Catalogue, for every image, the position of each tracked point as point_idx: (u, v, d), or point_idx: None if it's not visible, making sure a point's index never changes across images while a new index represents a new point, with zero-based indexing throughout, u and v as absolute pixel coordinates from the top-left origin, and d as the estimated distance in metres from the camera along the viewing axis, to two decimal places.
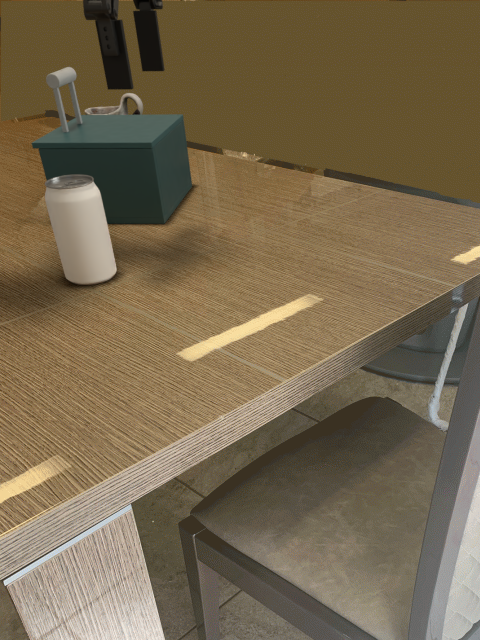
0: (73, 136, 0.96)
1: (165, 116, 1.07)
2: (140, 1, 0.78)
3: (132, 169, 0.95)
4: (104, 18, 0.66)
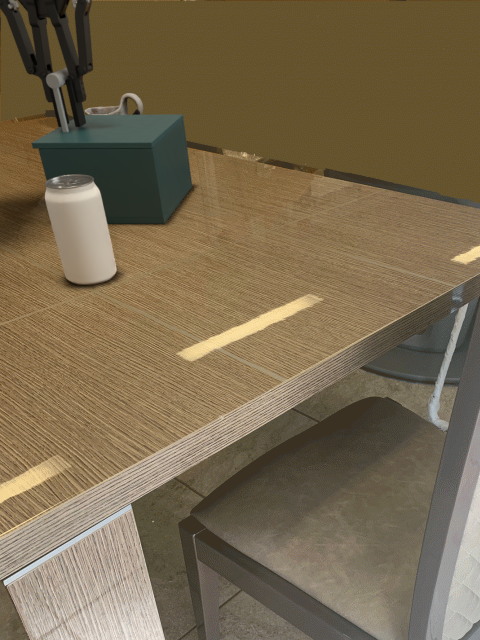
0: (73, 136, 0.96)
1: (165, 116, 1.07)
2: None
3: (132, 169, 0.95)
4: (82, 76, 0.97)
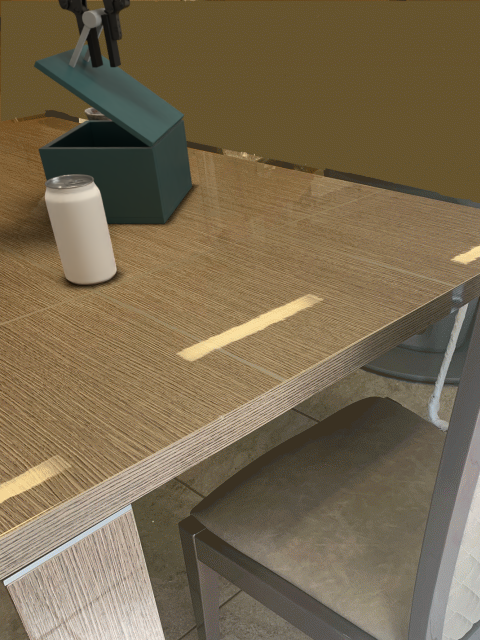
0: (79, 79, 0.91)
1: (168, 106, 1.06)
2: None
3: (132, 169, 0.95)
4: (119, 11, 0.92)
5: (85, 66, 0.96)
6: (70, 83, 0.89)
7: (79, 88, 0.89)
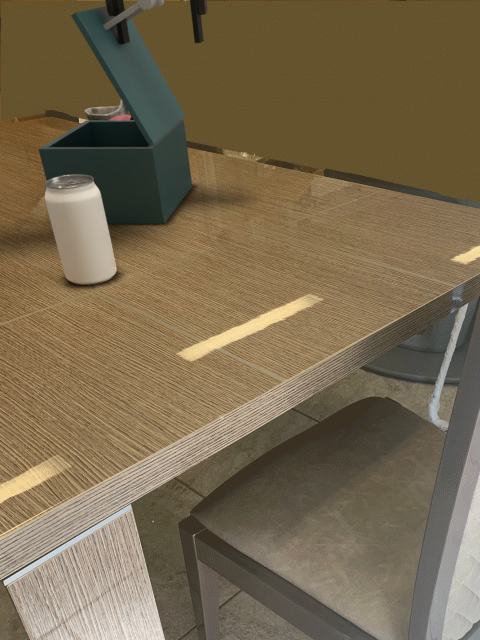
0: (107, 47, 0.89)
1: (174, 102, 1.06)
2: None
3: (132, 169, 0.95)
4: None
5: (116, 31, 0.93)
6: (100, 50, 0.86)
7: (106, 58, 0.87)
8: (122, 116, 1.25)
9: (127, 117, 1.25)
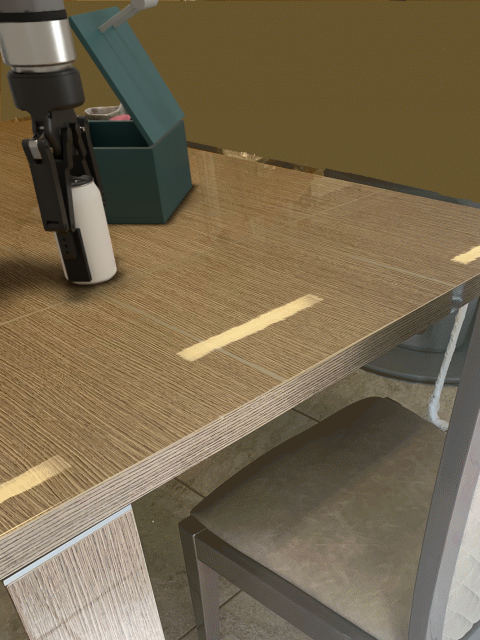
0: (104, 49, 0.89)
1: (173, 102, 1.06)
2: None
3: (132, 169, 0.95)
4: None
5: (112, 34, 0.93)
6: (96, 52, 0.86)
7: (102, 61, 0.87)
8: (122, 116, 1.25)
9: (127, 117, 1.25)
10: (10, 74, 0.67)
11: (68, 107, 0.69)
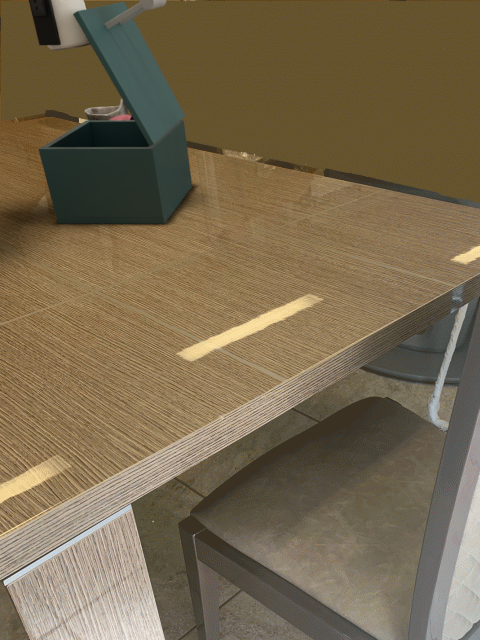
0: (109, 46, 0.89)
1: (174, 102, 1.06)
2: None
3: (132, 169, 0.95)
4: None
5: (117, 30, 0.93)
6: (101, 49, 0.86)
7: (107, 58, 0.87)
8: (122, 116, 1.25)
9: (127, 117, 1.25)
10: None
11: None
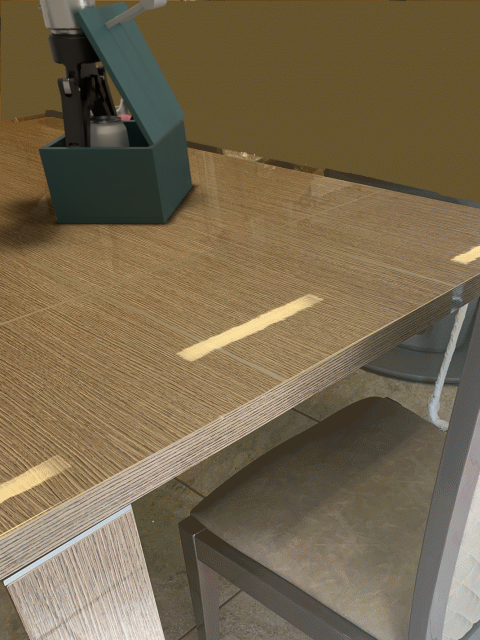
0: (109, 46, 0.89)
1: (174, 102, 1.06)
2: None
3: (132, 169, 0.95)
4: None
5: (118, 30, 0.93)
6: (101, 49, 0.86)
7: (108, 57, 0.87)
8: (122, 116, 1.25)
9: (127, 117, 1.25)
10: (51, 35, 0.91)
11: (93, 61, 0.93)
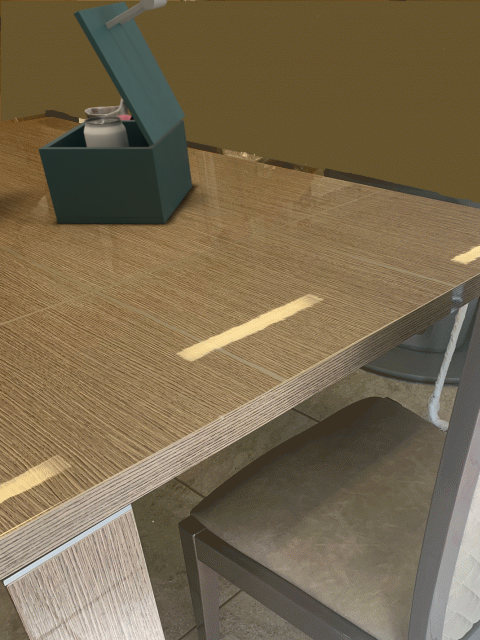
0: (109, 46, 0.89)
1: (174, 102, 1.06)
2: None
3: (132, 169, 0.95)
4: None
5: (118, 30, 0.93)
6: (101, 49, 0.86)
7: (108, 57, 0.87)
8: (122, 116, 1.25)
9: (127, 117, 1.25)
10: None
11: None
